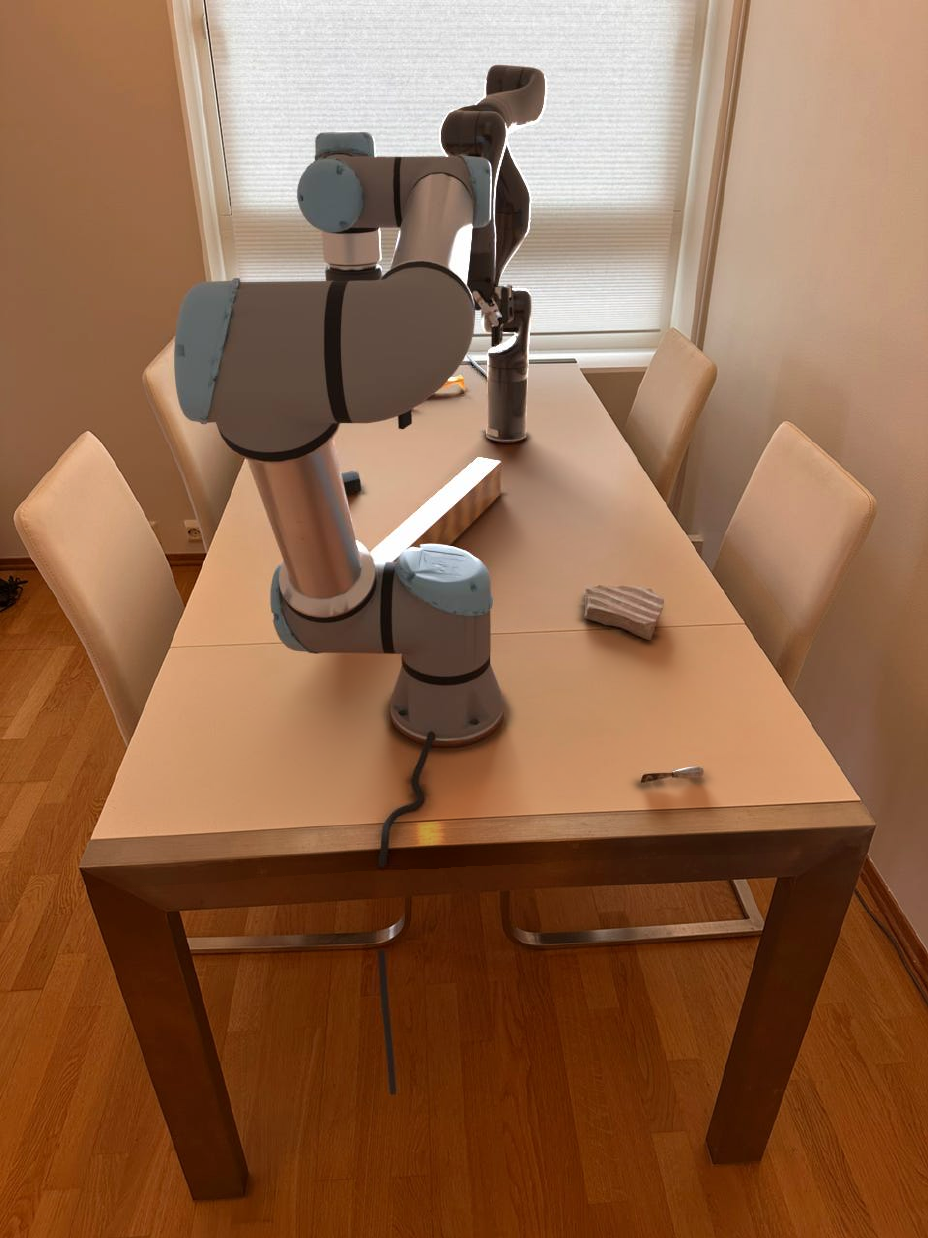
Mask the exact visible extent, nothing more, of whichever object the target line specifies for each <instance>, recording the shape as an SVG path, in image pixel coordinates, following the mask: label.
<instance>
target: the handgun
mask: <svg viewBox="0 0 928 1238" xmlns="http://www.w3.org/2000/svg"><path fill="white" fill-rule="evenodd" d="M341 474H342V479H343V483H344V488H345V492H346V496H348V495H351V494H354V493H360V492H362V482H361V477H360V473H359V471H354V470H352V471H350V470H349V471H346V472H341Z"/></svg>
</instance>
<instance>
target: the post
mask: <svg viewBox="0 0 928 1238" xmlns="http://www.w3.org/2000/svg"><path fill="white" fill-rule="evenodd" d="M501 488H502V460H498V459H490V458H486V457H485V458H484V457H477V458H476V459H474V461H473V462H472V463H470V464H469V465H468V466H467V467H466V468H464V469H463V470H462V471H461V472H460V473H458V475H456V476H455V477H454V478H452V479H451V481H449V482H448V483H447V484H446V485H445V486H444V487H443V488H442V489H440V490H439V491H438V492H437V493H436V494H434V495H433V496H432V497H431V498H429V500H428V501H426V502H425V503H424V504H423V505H422V506H421V507H420V508H418V509H417V511H415V512H414V513H412V515H410V516H409V517H408V518H407V519H406V520H404V521H403V522H402V523H401V524H400V525H399V526H398V527H397V528H396V529H394V530H393V531H392V532H391V533H390V534H389V535H387V536H386V537H385V538H384V539H383V540H382V541H381V542H379V543H378V544H377V545H376V546H375V547H374V548H373V549H371V550H370V551H369V553H370V554H371V556H372V558H373V560H374V562H396V561H397V559H398V557H399V556H400V554H401V553H402V552H403V551H405V550H407V549H409V548H411V547H415V548H418V546H419V545H425V544H437V545H447V546H451V545H452V544H453V543H454V542H455V541H456V540H457V538H459V537H460V536H461V535H462V534H463V533H464V531H466V530H467V528H469V527H470V526H471V525H472V524H473V522H474V521H476V519H478V517H479V516H481V515H482V514H483V513H484V512H485V511H486V510H487V509H488V508H489V507H490V506H491V505H492V503H493V502H495V501H496V499H498V497H500V495H501V490H502V489H501Z"/></svg>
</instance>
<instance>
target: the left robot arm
mask: <svg viewBox="0 0 928 1238" xmlns="http://www.w3.org/2000/svg"><path fill="white" fill-rule="evenodd" d="M314 144H315V145H314V146H315V147H314V149H315V153H314V154H315V155H314V157H313V158H314V161H313V162H311V163H310V164H308V165H307V166H306V168H305V170H304V171H303V172H302V174H301V176H300V178H299V181H298V184H297V189H296V199H297V203H298V204H297V205H298V208H299V210H300V212H301V214H302V216H303V217H304V218H305V220H306V221H307V222H308V223H309V224H310V226H312V227H313V228H315V229H317V230H319V231H321V238H322V251H323V262H324V263H326V264H327V265H326V268H325V269H324V274H325V280H287V281H286V280H285V281H283V280H281V281H279V280H278V281H275V280H274V281H273V280H272V281H271V280H269V281H241V279H240V277H233V278H232V279H231V280H215V281H213V280H212V281H202V282H199V283H196V284H194V285H193V286H192V287H190V288H189V290H188V291H187V292H186V293H185V296H184V297H183V299H182V302H181V304H180V308H179V312H178V315H177V320H176V325H175V333H174V334H175V335H174V349H173V350H174V351H173V371H174V382H175V391H176V397H177V400H178V404H179V407H180V409H181V412H182V414H183V415H184V416H185V418H186V419H188V420H189V421H191V422H195V423H196V422H197V423H200V424H201V425H207V424H211V423H215V424H216V428H217V430H218V432H219V434H220V437H221V439H222V441H223V442H224V444H225V445H226V447H227V448H228V449H229V450H231V451H232V453H234V454H236V455H238V456H239V457H241V458H243V459H245V460H246V461H247V463H248V467H249V469H250V472H251V475H252V477H253V480H254V482H255V485H256V488H257V491H258V493H259V497H260V499H261V503H262V504H263V507H264V510H265V512H266V517H267V518H268V522H269V524H270V527H271V529H272V533H273V535H274V538H275V540H276V543H277V546H278V550H279V551H280V555H281V557H282V560H283V561H282V562H281V563H280V564H278V566H277V567H276V568H275V570H274V572H273V575H272V579H271V583H270V584H271V585H270V592H269V593H270V597H269V599H270V611H271V613H272V614H273V619H272V623H273V627H274V629H275V632H276V635H277V637H278V639H279V640H280V642H281V643H282V644H283V645H284V646H285V647H286V648H288V649H289V650H292V651H295V652H305V653H308V654H314V655H318V654H384V655H386V654H387V655H388V654H389V655H401V667H400V669H399V672H398V675H397V678H396V681H395V684H394V687H393V690H392V693H391V696H390V704H389V705H390V718H391V721H392V724H393V725H394V727H395V728H396V729H397V731H398V732H399V733H400V734H402V735H403V736H404V737H406V738H407V739H409V740H411V741H413V742H415V743H417V744H420V745H421V744H422V745H423V747H422V750H421V753H420V756H419V758H418V761H417V763H416V765H415V766H414V770H413V772H412V775H411V781H410V782H411V789H412V791H413V792H414V795H416V800H415V801H413V803H410V804H407V805H404V806H401V807H398V808H396V809H395V810H393V811H392V812H391V813H390V814H389V816H388V817H387V818H386V820H385V821H384V823H383V825H382V829H381V838H380V848H379V856H378V862H377V863H378V867H379V868H384V867H385V866H387V861H388V855H389V847H390V845H389V844H390V832H391V829H392V826H393V824H394V822H395V821H396V820H397V819H398V818H399V817H401V816H404V815H406V814H410V813H412V812H415V811H417V810H419V809H420V808H421V807H422V806H423V805H424V804H425V800H426V796H425V792H424V790H423V789H422V788H421V786H420V783H419V782H420V777H421V774H422V771H423V769H424V766H425V764H426V762H427V759H428V756H429V754H430V750H431V747H437V748H454V747H455V748H457V747H463V746H467V745H471V744H473V743H476V742H480V741H481V740H483V739H485V738H486V737H488V736H489V735H491V734H492V733H493V732H494V731H495V730H496V729H498V727H499V726H500V724H501V722H502V720H503V717H504V697H503V693H502V690H501V687H500V685H499V682H498V679H497V677H496V674H495V672H494V668H493V666H492V664H491V654H492V653H491V651H492V649H491V648H492V647H491V644H492V643H491V642H492V641H491V640H492V639H491V637H492V636H491V635H492V633H491V632H492V631H491V629H492V627H491V626H492V625H491V624H492V623H491V622H492V621H491V616H492V614H491V612H492V611H491V610H492V608H493V603H494V598H493V594H492V584H491V576H490V575H491V574H490V572H489V570H488V568H487V566H486V564H484V562H482V560H480V559H479V558H478V557H476V556H474V555H473V554H472V553H471V552H469V551H467V550H464V549H462V548H458V547H455V546H451V545H449V546H447V545H437V544H425V545H419V546H418V548H415V547H411V548H409V549H407V550H405V551H403V552H402V553H401V554H400V556H399V557H398V559H397V561H396V562H374V560H373V558H372V556H371V554H370V553H369V552H370V551H369V550H368V549H367V547H366V546H364V544H362V543H361V542H359V541H358V540H357V537H356V536H357V535H356V531H355V529H354V524H353V519H352V515H351V510H350V506H349V502H348V497H347V496H348V495H346V492H345V488H344V483H343V479H342V474H341V473H342V470H341V466H340V461H339V457H338V452H337V448H336V444H335V443H336V442H335V439H334V437H335V435H336V434H337V433H338V431H339V429H340V427H341V425H342V424H372V423H373V424H374V423H378V422H383V421H387V420H390V419H394V418H396V417H397V423H398V426H397V427H398V429H399V430H405V429H406V428H408V427H409V426H410V425H412V424H413V416H412V415H413V413H412V410H413V409H414V408H416V407H418V406H419V405H421V404H423V403H425V401H427V400H428V399H430V397H432V396H433V395H434V394H436V393H437V392H438V391H439V390H441V389H440V388H441V387H442V386H443V385H444V384H445V383H446V382H447V381H448V380H449V379H450V378H451V377H453V375H455V373H456V372H457V371H458V369H459V367H460V366H461V364H462V363H463V362H464V360H465V358H466V357H467V355H468V352H469V350H470V347H471V345H472V341H473V337H474V333H475V322H476V310H475V305H474V301H473V297H472V294H471V292H470V290H469V288H468V286H467V277H468V266H469V255H470V244H471V234H472V228H479V227H484V226H487V225H488V224H489V222H490V219H491V165H490V163H489V161H488V160H487V159H485V158H482V157H470V156H463V155H457V156H446V155H434V156H431V155H429V156H427V155H426V156H424V155H423V156H377V150H376V140H375V138H374V136H373V135H372V134H371V132H368V131H359V130H336V131H333V130H332V131H322V132H320V133H318V134H317V135H316V137H315V140H314ZM384 228H385V229H399V231H398V235H397V240H396V244H395V248H394V252H393V257H392V260H391V264H390V269H388V270H387V271H386V272H385V273H384V274H383V268H382V266H381V265H380V264H379V262H380V261H382V248H381V247H382V246H381V229H384ZM386 961H387V957H386V951H385V950H381V949H377V965H378V980H379V981H378V982H379V992H380V993H379V994H380V1001H381V1002H380V1003H381V1004H380V1005H381V1013H382V1014H381V1015H382V1022H383V1035H384V1045H385V1056H386V1064H387V1077H388V1086H389V1087H388V1091H389V1095H391V1096H394V1095H396V1094H397V1082H396V1069H395V1056H394V1055H395V1054H394V1047H393V1046H394V1045H393V1044H394V1043H393V1036H392V1035H393V1034H392V1023H391V1014H390V1002H389V990H388V977H387V962H386Z"/></svg>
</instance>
